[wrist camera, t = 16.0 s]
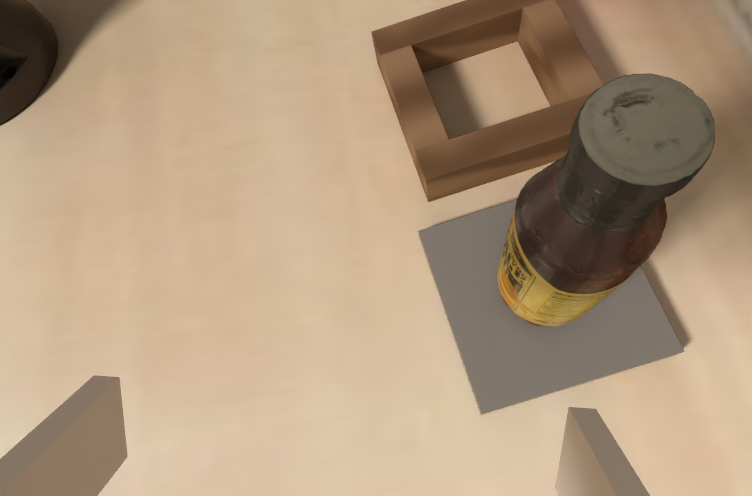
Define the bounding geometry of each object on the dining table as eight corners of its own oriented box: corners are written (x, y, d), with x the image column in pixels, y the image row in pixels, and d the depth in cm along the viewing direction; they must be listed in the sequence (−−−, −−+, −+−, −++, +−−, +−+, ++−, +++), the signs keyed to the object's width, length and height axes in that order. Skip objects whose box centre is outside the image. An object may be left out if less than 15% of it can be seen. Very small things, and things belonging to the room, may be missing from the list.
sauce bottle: (507, 232, 36) (564, 13, 18) (600, 254, 35) (769, 42, 16) (483, 321, 34) (521, 180, 16) (581, 348, 33) (748, 229, 14)
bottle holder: (377, 61, 44) (371, 31, 41) (534, 9, 44) (541, -25, 41) (428, 201, 39) (426, 180, 36) (607, 144, 39) (621, 116, 35)
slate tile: (419, 237, 38) (418, 231, 37) (589, 182, 38) (593, 174, 37) (480, 415, 33) (481, 414, 32) (676, 354, 33) (684, 351, 32)
